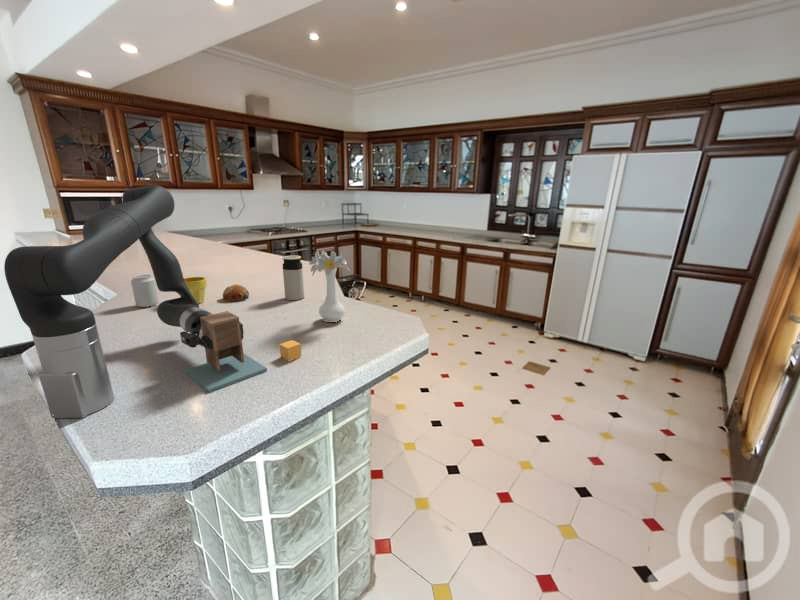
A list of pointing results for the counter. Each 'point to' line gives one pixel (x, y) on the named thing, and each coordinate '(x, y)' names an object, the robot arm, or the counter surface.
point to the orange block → (290, 350)
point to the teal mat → (225, 372)
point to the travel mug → (293, 278)
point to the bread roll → (235, 293)
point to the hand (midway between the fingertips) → (226, 340)
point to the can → (144, 290)
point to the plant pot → (196, 287)
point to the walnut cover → (222, 337)
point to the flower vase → (329, 284)
